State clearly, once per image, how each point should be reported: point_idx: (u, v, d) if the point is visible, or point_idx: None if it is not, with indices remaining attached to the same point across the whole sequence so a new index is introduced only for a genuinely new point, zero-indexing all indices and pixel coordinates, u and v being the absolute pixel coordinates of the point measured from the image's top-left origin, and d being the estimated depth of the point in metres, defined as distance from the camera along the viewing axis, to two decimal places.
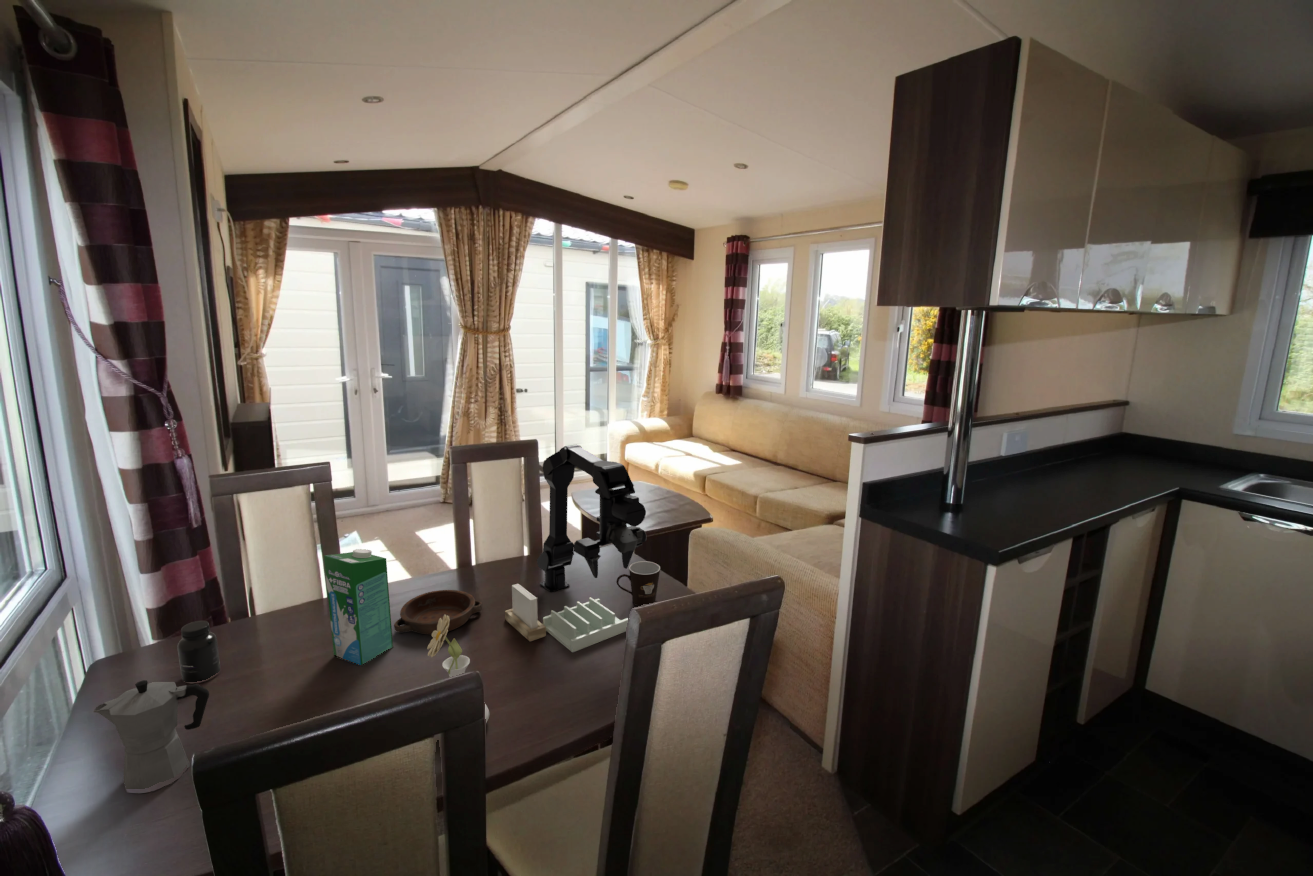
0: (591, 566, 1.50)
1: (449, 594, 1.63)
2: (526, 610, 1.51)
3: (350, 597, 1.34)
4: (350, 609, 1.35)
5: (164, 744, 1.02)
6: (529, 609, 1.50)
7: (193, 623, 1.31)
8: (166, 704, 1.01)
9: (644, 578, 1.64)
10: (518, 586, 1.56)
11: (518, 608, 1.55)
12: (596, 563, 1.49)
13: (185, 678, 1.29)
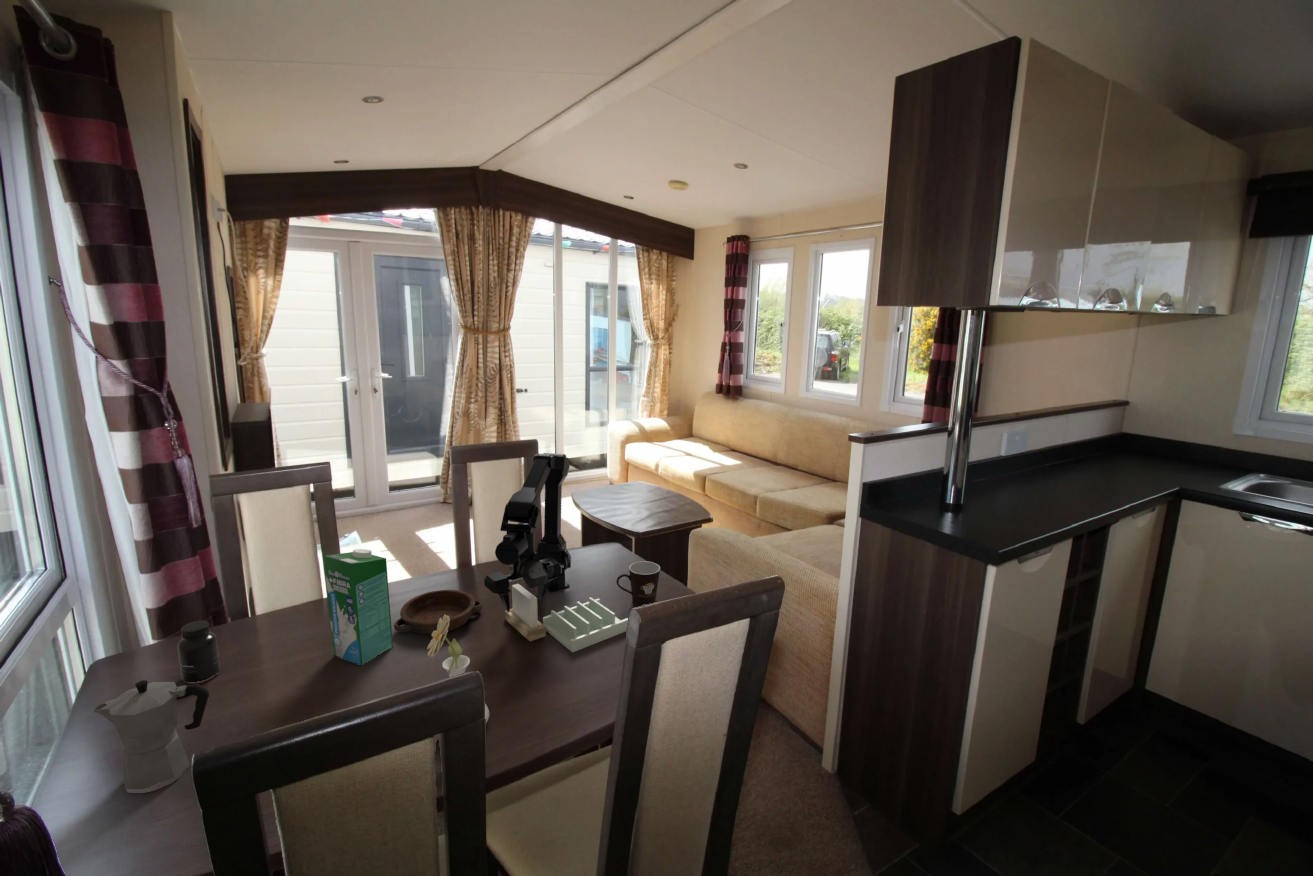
0: (503, 600, 1.50)
1: (449, 594, 1.63)
2: (526, 610, 1.51)
3: (350, 597, 1.34)
4: (350, 609, 1.35)
5: (164, 744, 1.02)
6: (529, 609, 1.50)
7: (193, 623, 1.31)
8: (166, 704, 1.01)
9: (644, 578, 1.64)
10: (518, 586, 1.56)
11: (518, 608, 1.55)
12: (506, 597, 1.49)
13: (185, 678, 1.29)
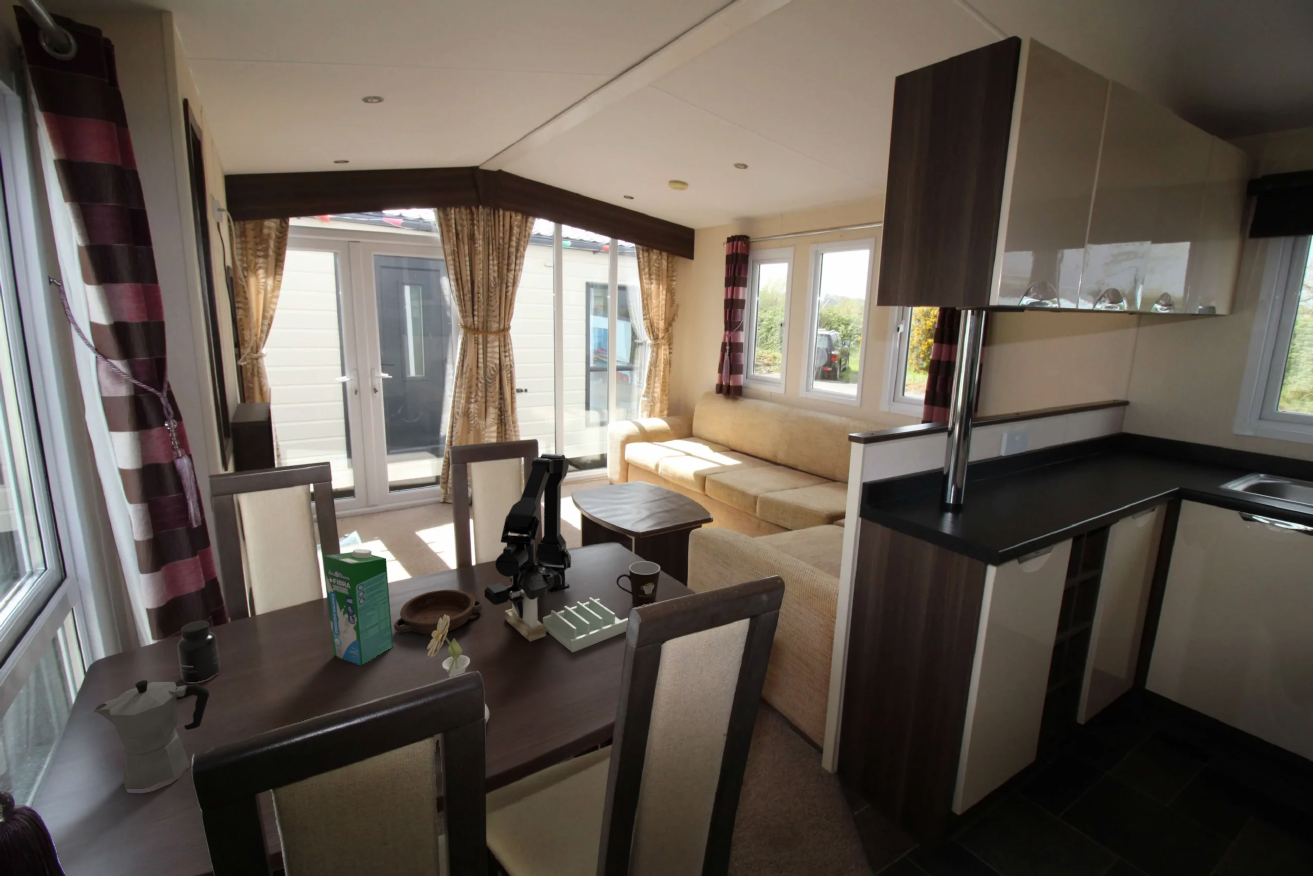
0: (516, 607, 1.52)
1: (449, 593, 1.63)
2: (526, 609, 1.51)
3: (350, 597, 1.34)
4: (350, 609, 1.35)
5: (164, 744, 1.02)
6: (529, 609, 1.50)
7: (193, 623, 1.31)
8: (166, 704, 1.01)
9: (644, 578, 1.64)
10: None
11: None
12: (520, 604, 1.51)
13: (185, 678, 1.29)
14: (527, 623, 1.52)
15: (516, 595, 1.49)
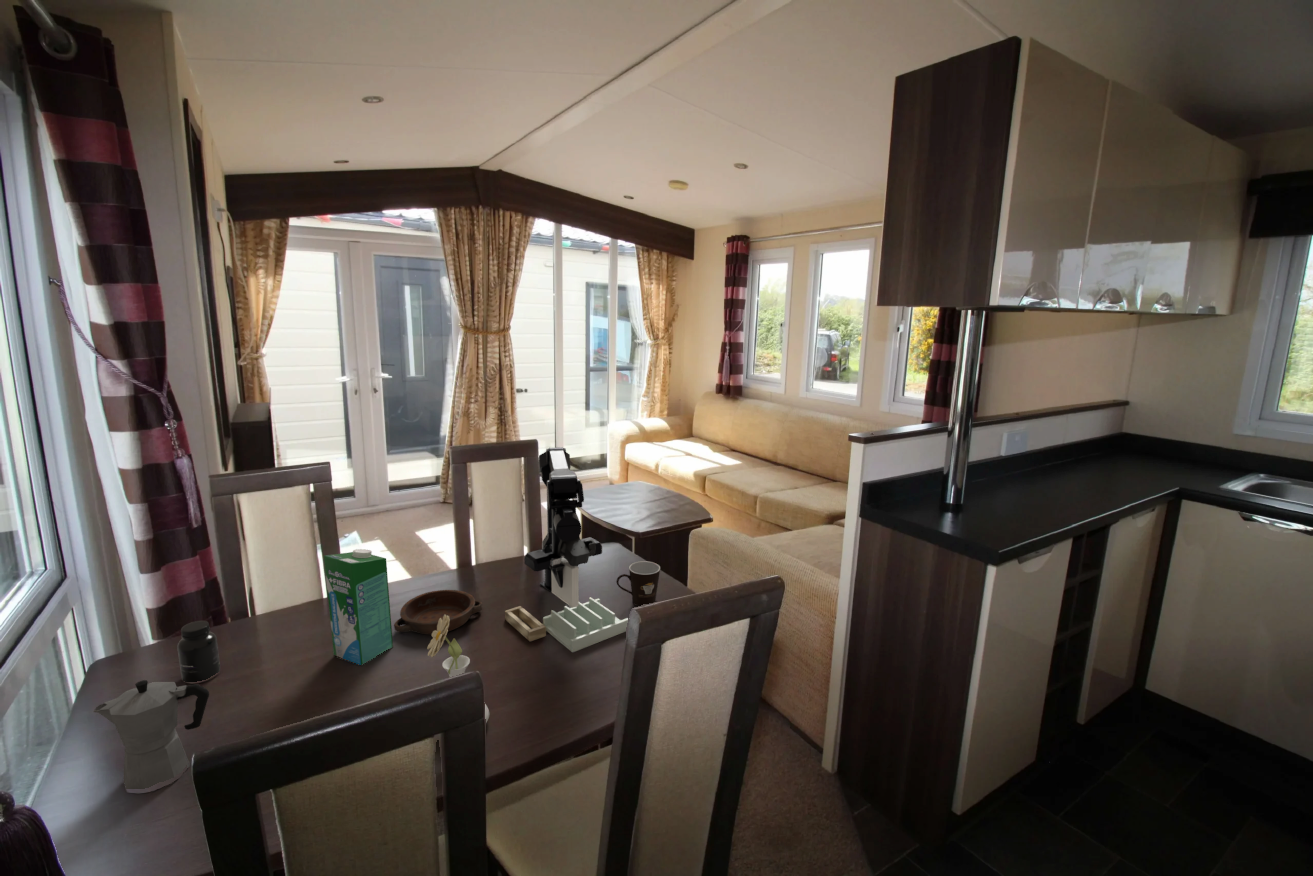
0: (556, 575, 1.47)
1: (449, 594, 1.63)
2: (566, 579, 1.46)
3: (350, 597, 1.34)
4: (350, 609, 1.35)
5: (164, 744, 1.02)
6: (570, 578, 1.45)
7: (193, 623, 1.31)
8: (166, 704, 1.01)
9: (644, 578, 1.64)
10: None
11: None
12: (560, 572, 1.46)
13: (185, 678, 1.29)
14: (568, 593, 1.46)
15: (557, 562, 1.44)
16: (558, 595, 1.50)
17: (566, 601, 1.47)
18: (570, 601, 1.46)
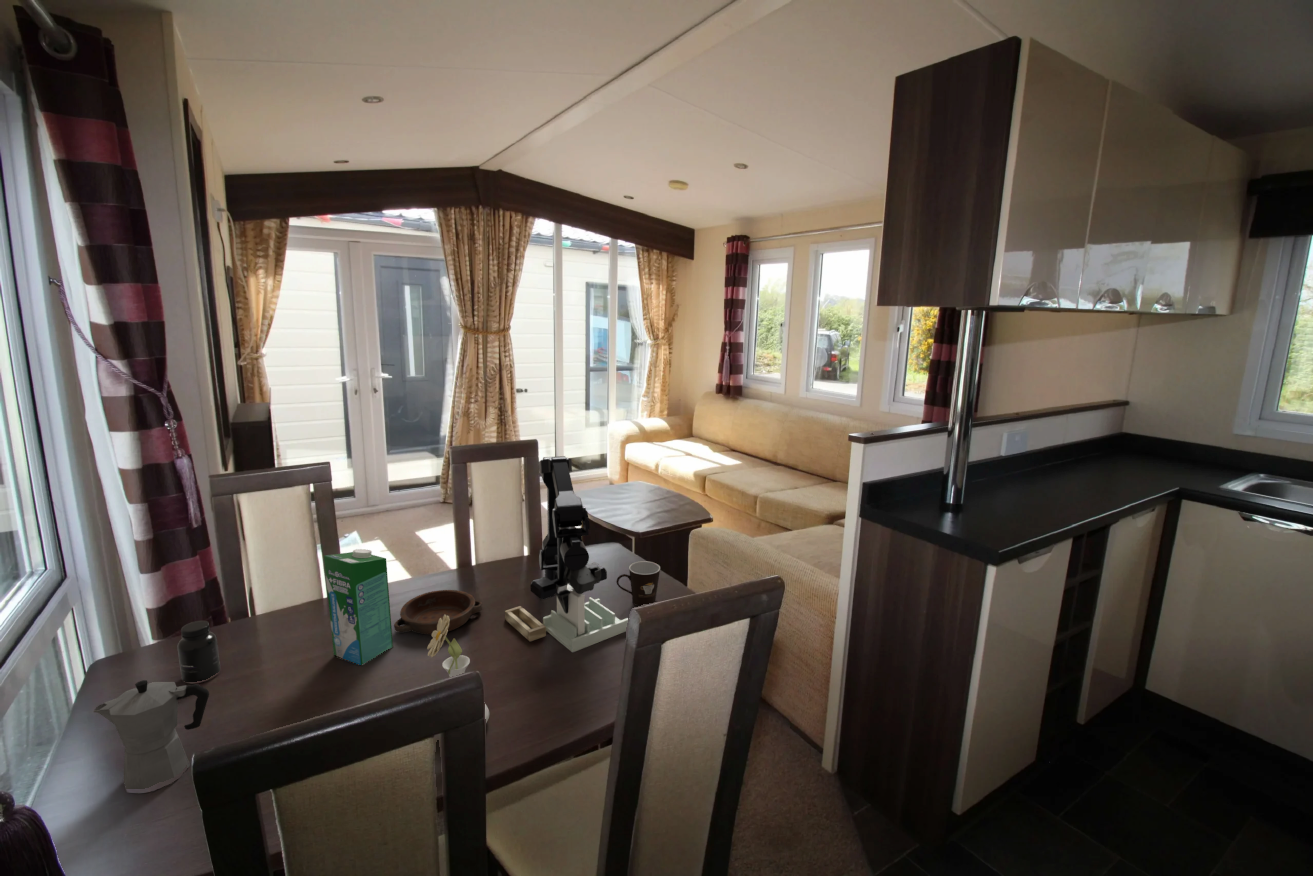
0: (561, 602, 1.49)
1: (449, 594, 1.63)
2: (572, 607, 1.48)
3: (350, 597, 1.34)
4: (350, 609, 1.35)
5: (164, 744, 1.02)
6: (576, 606, 1.46)
7: (193, 623, 1.31)
8: (166, 704, 1.01)
9: (644, 578, 1.64)
10: None
11: None
12: (566, 599, 1.48)
13: (185, 678, 1.29)
14: (574, 621, 1.48)
15: (563, 589, 1.46)
16: None
17: None
18: (576, 628, 1.47)
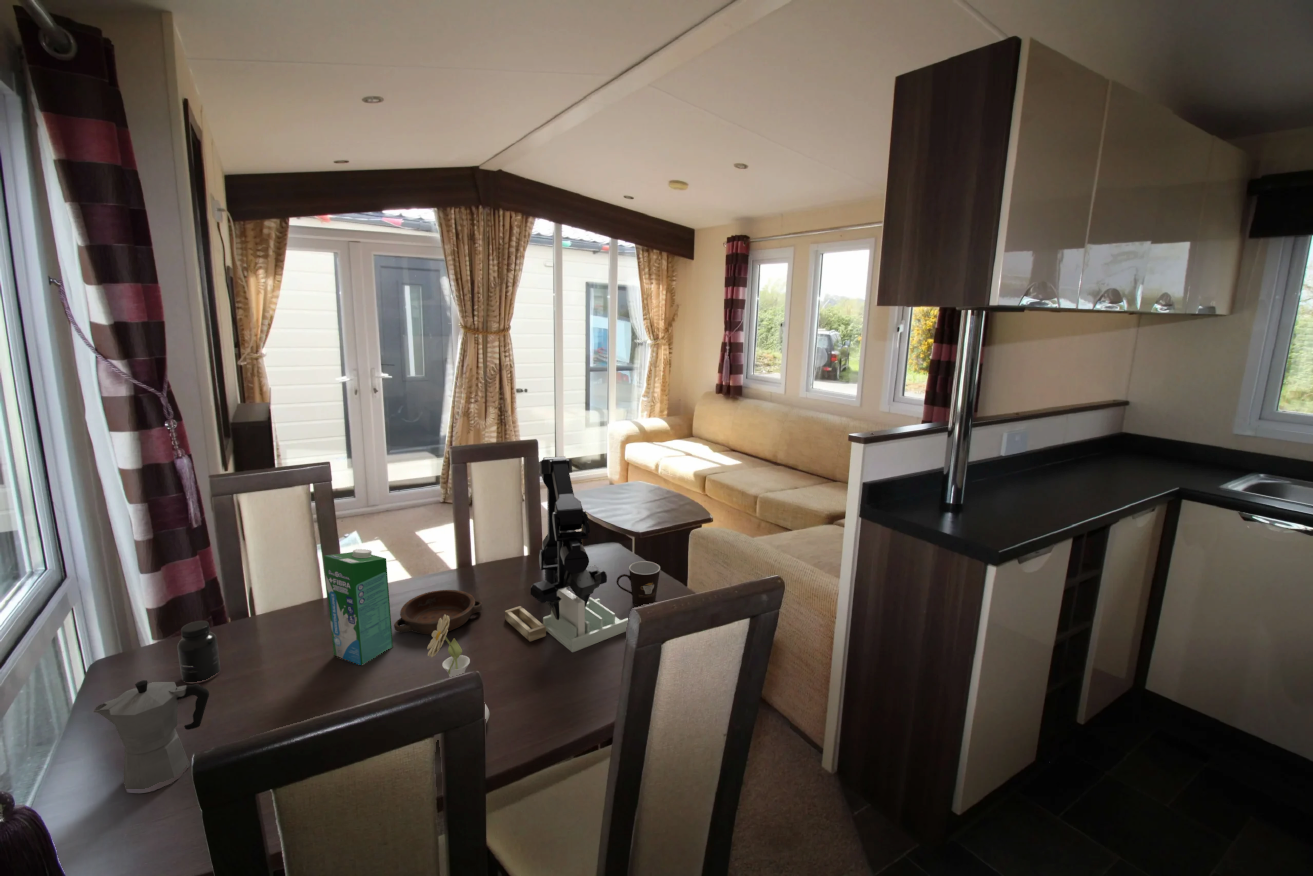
0: (552, 608, 1.47)
1: (449, 594, 1.63)
2: (572, 613, 1.48)
3: (350, 597, 1.34)
4: (350, 609, 1.35)
5: (164, 744, 1.02)
6: (576, 613, 1.46)
7: (193, 623, 1.31)
8: (166, 704, 1.01)
9: (644, 578, 1.64)
10: (563, 589, 1.52)
11: (563, 611, 1.51)
12: (557, 605, 1.46)
13: (185, 678, 1.29)
14: None
15: None
16: None
17: None
18: None
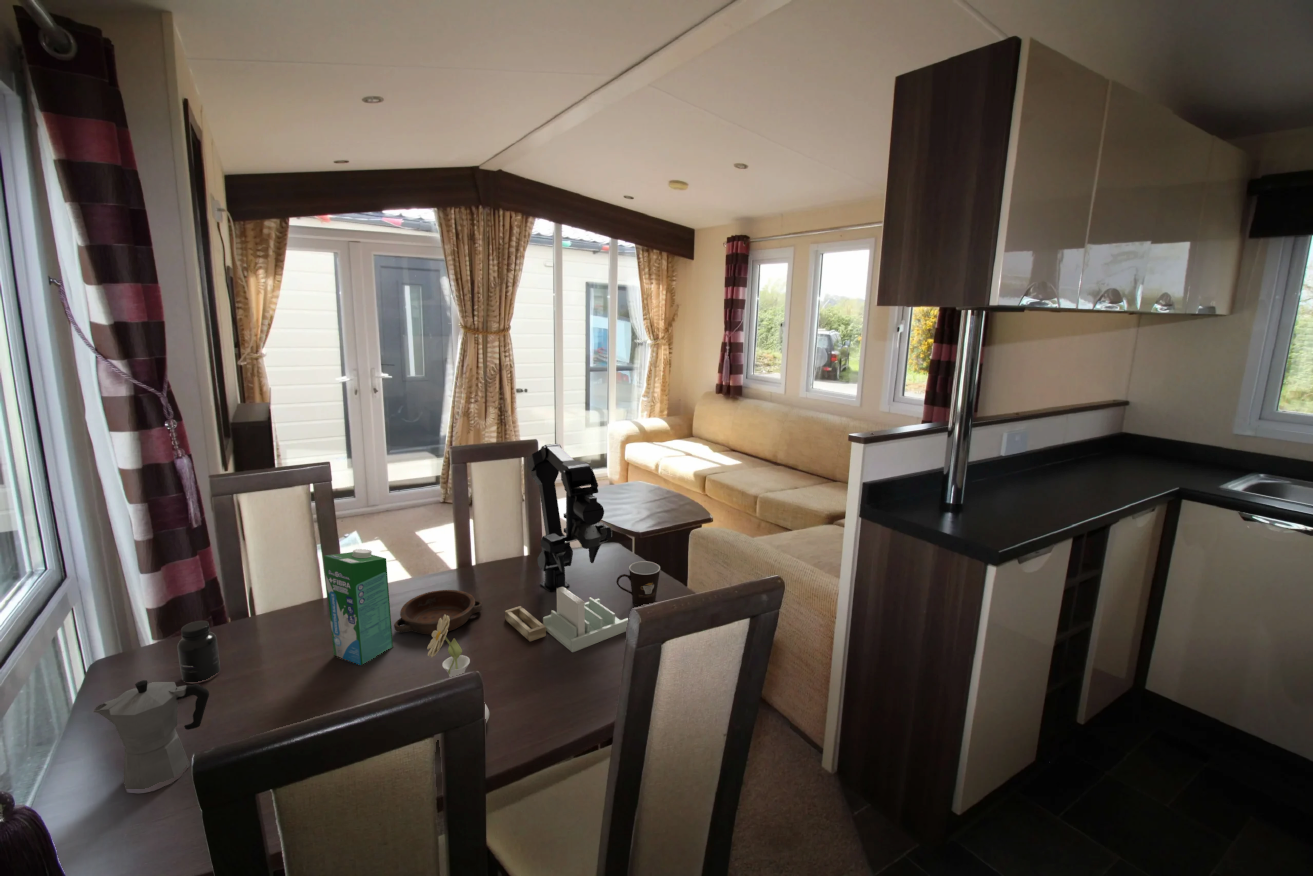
0: (557, 560, 1.57)
1: (449, 594, 1.63)
2: (572, 613, 1.48)
3: (350, 597, 1.34)
4: (350, 609, 1.35)
5: (164, 744, 1.02)
6: (576, 613, 1.46)
7: (193, 623, 1.31)
8: (166, 704, 1.01)
9: (644, 578, 1.64)
10: (563, 589, 1.52)
11: (563, 611, 1.51)
12: (561, 557, 1.56)
13: (185, 678, 1.29)
14: None
15: None
16: None
17: None
18: None
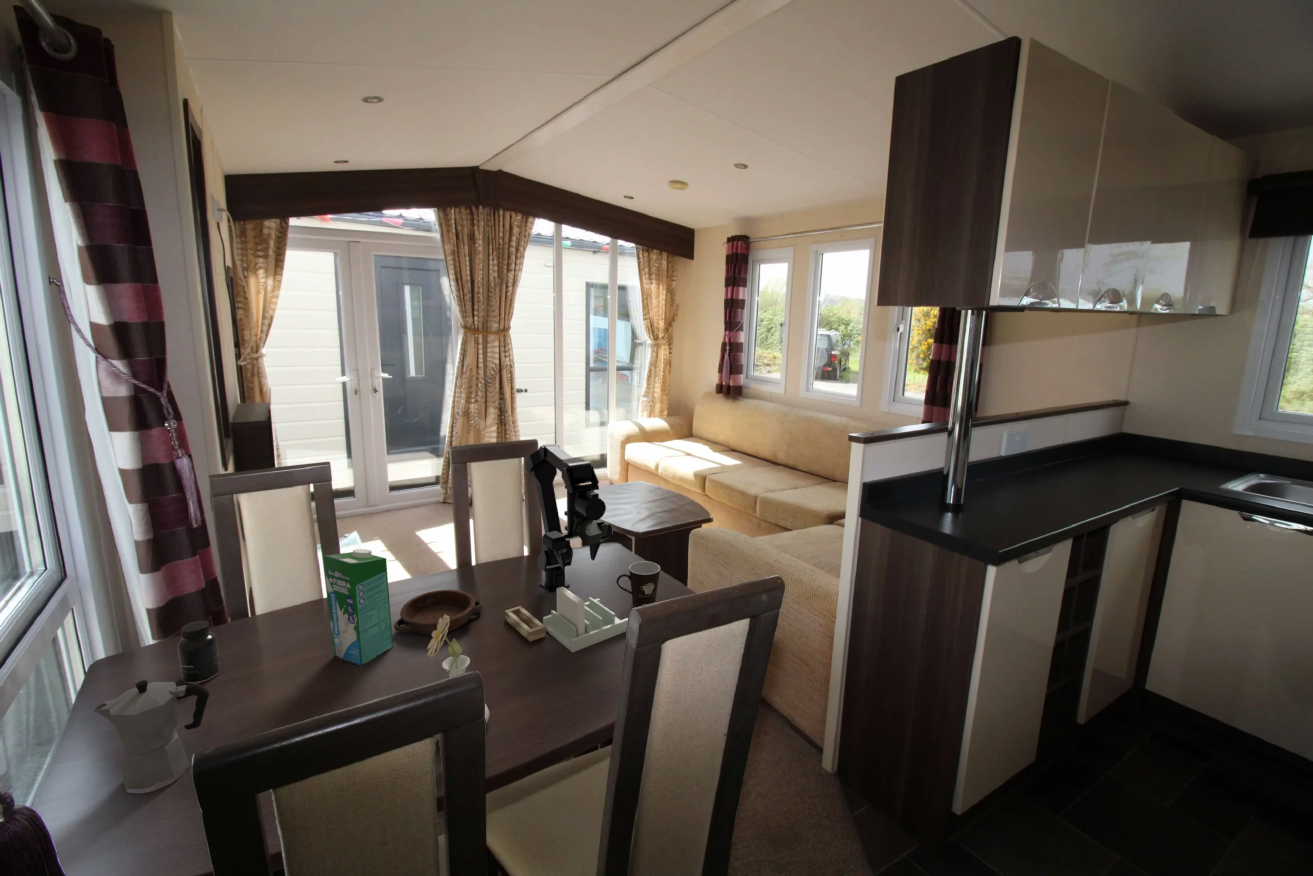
0: (559, 558, 1.58)
1: (449, 594, 1.63)
2: (572, 613, 1.48)
3: (350, 597, 1.34)
4: (350, 609, 1.35)
5: (164, 744, 1.02)
6: (576, 613, 1.46)
7: (193, 623, 1.31)
8: (166, 704, 1.01)
9: (644, 578, 1.64)
10: (563, 589, 1.52)
11: (563, 611, 1.51)
12: (563, 555, 1.57)
13: (185, 678, 1.29)
14: None
15: None
16: None
17: None
18: None
